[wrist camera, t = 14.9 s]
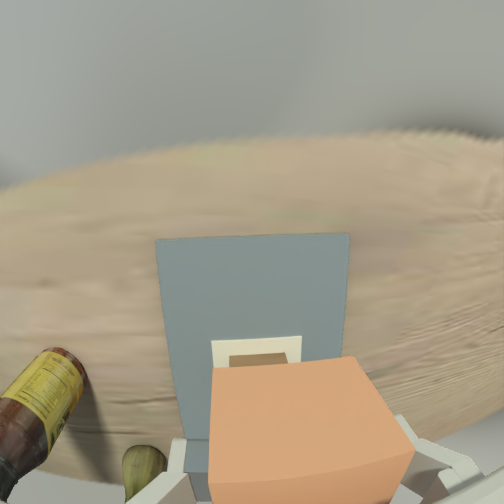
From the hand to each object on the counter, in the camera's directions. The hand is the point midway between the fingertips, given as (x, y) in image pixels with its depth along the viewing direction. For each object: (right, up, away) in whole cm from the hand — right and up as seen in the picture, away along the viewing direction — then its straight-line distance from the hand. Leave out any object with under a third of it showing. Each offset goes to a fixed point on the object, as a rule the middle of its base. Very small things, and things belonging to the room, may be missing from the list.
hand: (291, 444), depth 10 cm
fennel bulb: (-14, -18, +22) cm, 32 cm away
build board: (-1, -5, +20) cm, 20 cm away
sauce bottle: (-21, -6, +19) cm, 29 cm away
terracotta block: (0, 0, +2) cm, 2 cm away
